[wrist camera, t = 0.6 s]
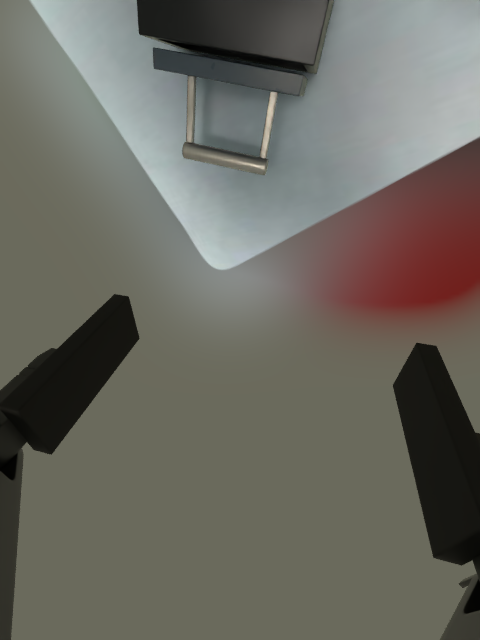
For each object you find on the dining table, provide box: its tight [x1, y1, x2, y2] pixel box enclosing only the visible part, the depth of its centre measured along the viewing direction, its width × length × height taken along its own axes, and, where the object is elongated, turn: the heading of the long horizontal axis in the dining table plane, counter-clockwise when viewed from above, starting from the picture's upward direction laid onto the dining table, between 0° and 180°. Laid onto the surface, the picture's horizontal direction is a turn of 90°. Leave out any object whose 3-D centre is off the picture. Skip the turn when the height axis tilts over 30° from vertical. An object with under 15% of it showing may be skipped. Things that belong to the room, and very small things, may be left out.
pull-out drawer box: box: [153, 48, 308, 175], centre depth 22 cm, size 20×11×7 cm, turn 172°
